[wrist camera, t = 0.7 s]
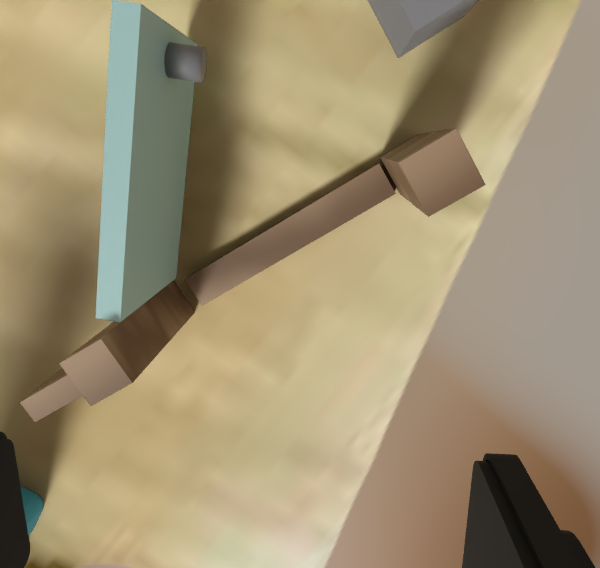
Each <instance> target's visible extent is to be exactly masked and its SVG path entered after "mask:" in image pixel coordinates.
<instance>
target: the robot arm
mask: <svg viewBox="0 0 600 568" xmlns="http://www.w3.org/2000/svg"><path fill="white" fill-rule="evenodd" d="M29 554H30V542H29V536H28V530H27V524H26V518H25V512H24V506H23V500H22V493H21V487H20V481H19V475H18V469H17V463H16V457H15V451H14V446H13V443H12V441H11V440H9V439H7V437H6V435H5V434H4V433H3V432H0V568H24V566H25V565H26V563H27V560H28V558H29ZM462 568H595V566H594V565H593V563H592V561H591V560H590V558H589V556H588V555H587V553H586V552H585V550H584V548H583V546H582V545H581V543H580V541H579V540H578V539H577V537H576V536H575V535H574V534H573V533H572V532H570V531H564V530H560V529H559V527H558V525H557V524H556V522H555V520H554V518H553V517H552V515H551V513H550V511H549V510H548V508H547V506H546V504H545V503H544V501H543V499H542V497H541V496H540V494H539V493H538V490H537V489H536V487H535V485H534V483H533V482H532V480H531V478H530V476H529V475H528V473H527V471H526V469H525V468H524V466H523V464H522V462H521V461H520V459H519V458H518V456H517V455H509V454H485V455H484V458H483V461H475V462H474V465H473V473H472V482H471V491H470V500H469V509H468V519H467V528H466V537H465V546H464V555H463V564H462Z"/></svg>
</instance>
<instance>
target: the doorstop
mask: <svg viewBox="0 0 600 568" xmlns="http://www.w3.org/2000/svg"><path fill="white" fill-rule="evenodd" d="M477 1H478V0H368V2H369V4H370V6H371V7H372V9H373V11H374V13H375V15H376V17H377V19H378V21H379V23H380V25H381V27H382V29H383V30H384V32H385V34H386V36H387V38H388V40H389V42H390V44H391V46H392V48H393V50H394V52H395V53H396V55H397V57H398V58H399V57H401V56H403V55H404V54H406V53H407V52H409V51H410V50H412V49H414V48H415V47H417V46H418V45H420V44H421V43H423V42H424V41H426V40H428V39H429V38H431V37H432V36H434V35H435V34H437V33H439V32H440V31H442V30H443V29H445V28H446V27H448V26H450V25H451V24H453V23H454V22H456V21H457V20H459V19H461V18H462V17H463V16H464V15H465V14H466V13H467V12H468V11H469V10H470V9H471V8H472V7H473V6H474V5H475V4H476V2H477Z"/></svg>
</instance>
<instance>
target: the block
mask: <svg viewBox="0 0 600 568" xmlns="http://www.w3.org/2000/svg"><path fill="white" fill-rule="evenodd" d="M20 487H21V493H22V500H23V506H24V512H25V518H26V524H27V530H28V536H29V534H30V533H31V532H32V530H33V529H34V527H35V525H36V523H37V520H38V518H39V516H40V514H41V512H42V510H43V500H42V499H41V497H40V496H39V495H37V494H36V493H34V492H32V491H30V490H28V489H26V488H24V487H22V486H20Z"/></svg>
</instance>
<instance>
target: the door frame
mask: <svg viewBox="0 0 600 568" xmlns="http://www.w3.org/2000/svg"><path fill="white" fill-rule="evenodd" d="M380 158H381V160H382V162H383V164H384V166H385V167H386V169H387V171H388V173H389V175H390V177H391V178H392V180H393V182H394V184H395V186H396V187H397V189H398V191H399V193H400V194H401V195H402V196H403V197H405V198H406V199H407V200H408V201H410V202H411V203H412V204H413V205H415V206H416V207H417V208H418V209H420V210H421V211H422V212H423V213H424V214H426V215H427V216H428V217H429V216H431V215H432V214H434V213H436V212H438V211H440V210H441V209H443V208H445V207H447V206H448V205H450V204H452V203H454V202H456V201H457V200H459V199H461V198H463V197H465V196H466V195H468V194H470V193H472V192H473V191H475V190H477V189H479V188H481V187H482V186H484V185H485V183H484V181H483V179H482V177H481V175H480V173H479V171H478V169H477V167H476V165H475V163H474V161H473V159H472V158H471V156H470V154H469V152H468V150H467V148H466V146H465V144H464V142H463V140H462V138H461V136H460V134H459V132H458V130H457V128H456V129H450V130H444V131H437V132H431V133H425V134H418V135H416V136H415V137H413V138H411V139H410V140H408V141H406V142H405V143H403V144H401V145H400V146H398V147H396V148H395V149H393V150H391V151H390V152H388V153H386V154H385V155H383V156H381V157H380ZM394 194H396V193H395V191H394V190H393V188H392V186H391V184H390V182H389V180H388V179H387V177H386V175H385V173H384V171H383V170H382V168H381V166H380V164H379V163H378V164H376V165H374V166H373V167H371V168H369V169H368V170H366V171H364V172H363V173H361V174H359V175H358V176H356V177H354V178H353V179H351V180H349V181H348V182H346V183H344V184H343V185H341V186H339V187H338V188H336V189H334V190H332V191H331V192H329V193H327V194H326V195H324V196H322V197H321V198H319V199H317V200H316V201H314V202H312V203H311V204H309V205H307V206H306V207H304V208H302V209H301V210H299V211H297V212H296V213H294V214H292V215H291V216H289V217H287V218H286V219H284V220H282V221H281V222H279V223H277V224H276V225H274V226H272V227H271V228H269V229H267V230H265V231H264V232H262V233H260V234H259V235H257V236H255V237H254V238H252V239H250V240H249V241H247V242H245V243H244V244H242V245H240V246H239V247H237V248H235V249H234V250H232V251H230V252H229V253H227V254H225V255H224V256H222V257H220V258H219V259H217V260H215V261H214V262H212V263H210V264H209V265H207V266H205V267H204V268H202V269H200V270H198V271H197V272H195V273H193V274H192V275H190V276H188V277H187V278H186V279H185V281H186V283H187V284H188V286H189V287H190V289H191V290H192V292H193V293H194V295H195V296H196V298H197V299H198V301H199V302H200V304H201V305H204V304H206V303H208V302H209V301H211V300H213V299H214V298H216V297H218V296H220V295H221V294H223V293H225V292H227V291H228V290H230V289H232V288H233V287H235V286H237V285H239V284H240V283H242V282H244V281H246V280H247V279H249V278H251V277H252V276H254V275H256V274H258V273H259V272H261V271H263V270H265V269H266V268H268V267H270V266H271V265H273V264H275V263H277V262H278V261H280V260H282V259H284V258H285V257H287V256H289V255H290V254H292V253H294V252H296V251H297V250H299V249H301V248H303V247H304V246H306V245H308V244H309V243H311V242H313V241H315V240H316V239H318V238H320V237H322V236H323V235H325V234H327V233H328V232H330V231H332V230H334V229H335V228H337V227H339V226H341V225H342V224H344V223H346V222H347V221H349V220H351V219H353V218H354V217H356V216H358V215H360V214H361V213H363V212H365V211H366V210H368V209H370V208H372V207H373V206H375V205H377V204H378V203H380V202H382V201H384V200H385V199H387V198H389V197H391V196H392V195H394ZM194 313H195V312H194V311H193V309H192V308H191V306H190V305H189V303H188V302H187V300H186V299H185V297H184V296H183V294H182V293H181V291H180V290H179V288H178V287H177V285H176V284H175V282H174V281H173V282H171V283H169V284H168V285H167V286H165V287H164V288H163V289H162V290H160V291H159V292H158V293H157V294H155V295H154V296H153V297H152V298H150V299H149V300H148V301H147V302H145V303H144V304H143V305H142V306H140V307H139V308H138V309H136V310H135V311H134V312H133V313H131V314H130V315H129V316H128V317H126V318H125V319H124V320H123V321H121V322H115V321H114V322H113V323H111V324H110V325H109V326H108V327H106V328H105V329H104V330H102V331H101V332H100V333H98V334H97V335H96V336H94V337H93V338H92V339H91V340H89V341H88V342H87V343H85V344H84V345H83V346H81V347H80V348H79V349H78V350H76V351H75V352H74V353H72V354H71V355H70V356H68V357H67V358H66V359H65V360H63V361H62V362H61V363H59V364H60V365H61V367H62V368H63V369H62V370H60V371H59V372H58V373H57V374H55V375H54V376H53V377H51V378H50V379H49V380H48V381H46V382H45V383H44V384H43V385H41V386H40V387H39V388H38V389H36V390H35V391H34V392H33V393H31V394H30V395H29V396H28V397H26V398H25V399H24V400H23V401H21V402H20V404H21V405H22V406H23V407H24V409H25V410H26V411H27V413H28V414H29V415H30V417H31V418H32V419H33V420H34V422H37V421H38V420H40V419H42V418H44V417H45V416H47V415H49V414H51V413H52V412H54V411H56V410H58V409H59V408H61V407H63V406H65V405H66V404H68V403H70V402H72V401H74V400H75V399H77V398H79V397H81V396H82V395H83V396H84V398H85V399H86V400H87V402H88V403H89V404H90V406H92V405H94V404H96V403H97V402H99V401H101V400H103V399H105V398H106V397H108V396H110V395H112V394H113V393H115V392H117V391H119V390H121V389H122V388H124V387H126V386H128V385H129V384H131V383H133V382H134V380H135V379H136V378H137V377H138V376H139V375H140V374H141V373H142V371H143V370H144V369H145V368H146V367H147V366H148V365H149V364H150V362H151V361H152V360H153V359H154V358H155V357H156V356H157V354H158V353H159V352H160V351H161V350H162V349H163V348H164V347H165V345H166V344H167V343H168V342H169V341H170V340H171V339H172V338H173V336H174V335H175V334H176V333H177V332H178V331H179V330H180V329H181V327H182V326H183V325H184V324H185V323H186V322H187V321H188V319H189V318H190V317H191V316H192V315H193V314H194Z"/></svg>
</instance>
